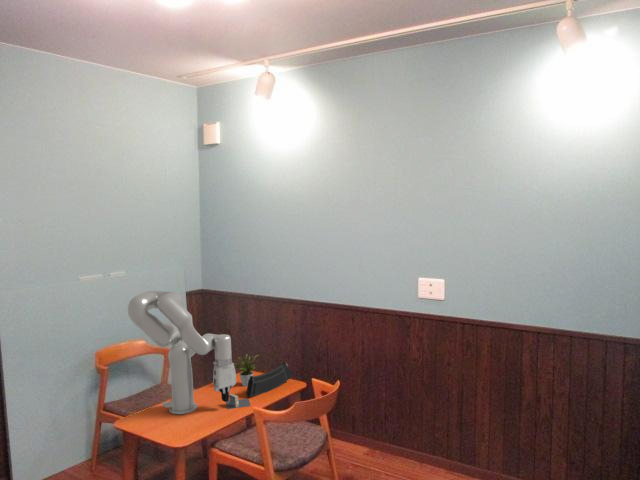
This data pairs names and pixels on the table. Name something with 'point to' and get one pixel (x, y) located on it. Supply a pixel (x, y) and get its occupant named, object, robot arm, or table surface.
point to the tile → (233, 400)
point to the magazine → (268, 380)
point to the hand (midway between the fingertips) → (225, 400)
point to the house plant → (245, 370)
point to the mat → (241, 404)
